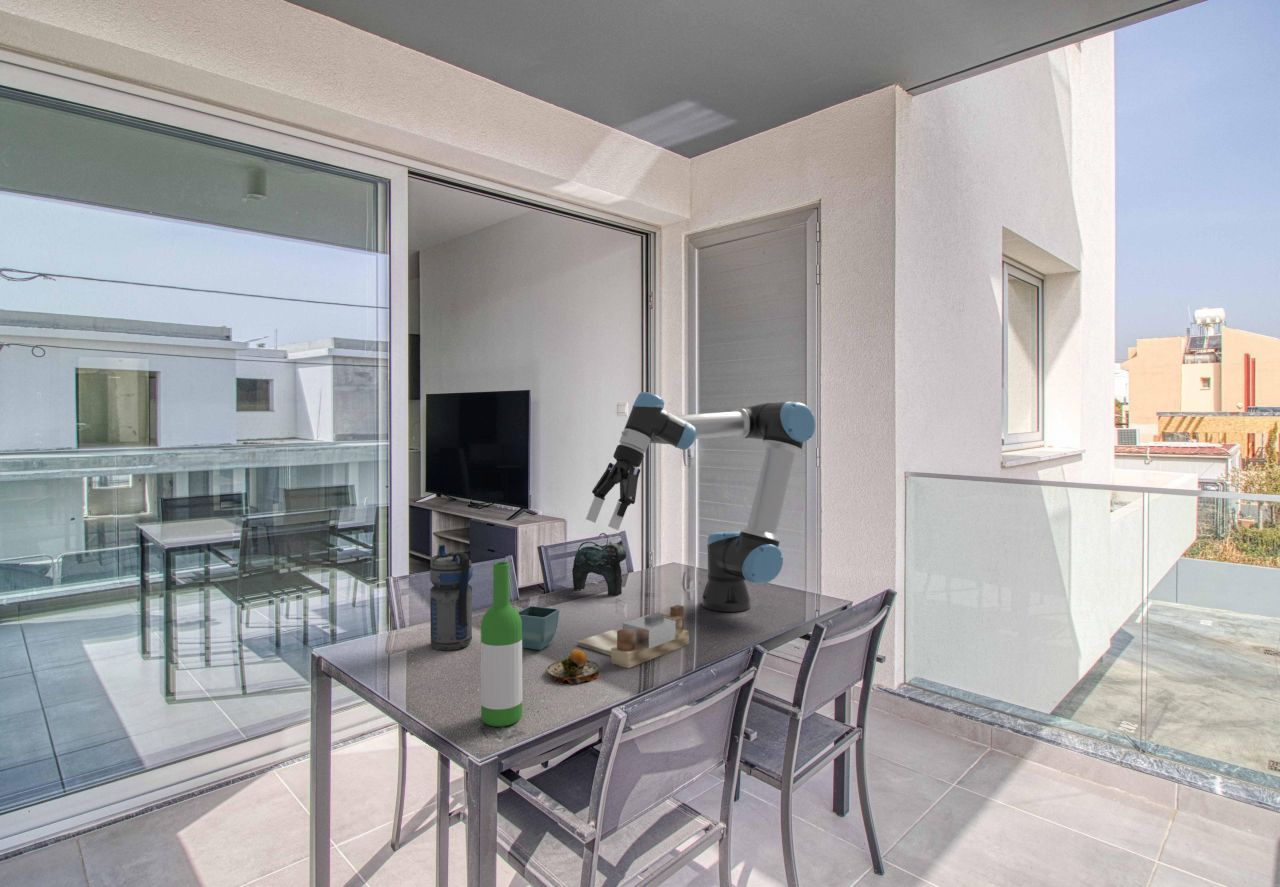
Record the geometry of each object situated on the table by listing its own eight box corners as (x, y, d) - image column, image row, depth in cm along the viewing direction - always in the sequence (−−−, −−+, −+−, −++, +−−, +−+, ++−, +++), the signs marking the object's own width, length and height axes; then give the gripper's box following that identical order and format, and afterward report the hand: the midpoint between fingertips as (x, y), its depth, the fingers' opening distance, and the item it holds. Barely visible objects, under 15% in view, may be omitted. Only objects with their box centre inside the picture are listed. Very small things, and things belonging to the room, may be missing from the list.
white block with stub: (649, 631, 173) (649, 609, 173) (675, 638, 167) (675, 615, 167) (622, 641, 165) (622, 618, 165) (648, 648, 160) (648, 624, 159)
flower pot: (560, 643, 175) (560, 608, 174) (544, 654, 166) (544, 617, 166) (529, 639, 178) (529, 605, 177) (512, 650, 169) (512, 614, 169)
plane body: (672, 639, 178) (672, 603, 177) (689, 644, 174) (689, 607, 174) (611, 662, 160) (611, 622, 160) (628, 668, 157) (628, 627, 156)
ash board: (615, 632, 183) (615, 628, 183) (649, 642, 176) (649, 638, 176) (577, 645, 173) (577, 641, 173) (611, 655, 165) (611, 651, 165)
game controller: (627, 594, 225) (627, 534, 224) (616, 598, 219) (616, 536, 219) (579, 586, 235) (579, 529, 235) (568, 590, 230) (568, 531, 229)
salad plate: (573, 662, 161) (573, 631, 161) (610, 674, 154) (610, 641, 154) (535, 677, 152) (535, 644, 152) (572, 690, 145) (572, 655, 144)
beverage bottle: (448, 657, 164) (447, 554, 163) (421, 644, 173) (421, 547, 172) (484, 647, 171) (484, 548, 170) (457, 635, 180) (457, 542, 180)
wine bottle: (497, 732, 124) (496, 569, 123) (472, 720, 129) (471, 563, 128) (530, 718, 130) (530, 563, 129) (505, 707, 135) (505, 557, 134)
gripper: (599, 441, 188) (570, 513, 184) (642, 445, 166) (610, 526, 163) (621, 452, 191) (593, 522, 188) (666, 456, 170) (636, 536, 166)
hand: (601, 524), depth 175 cm, fingers open, 13 cm apart
